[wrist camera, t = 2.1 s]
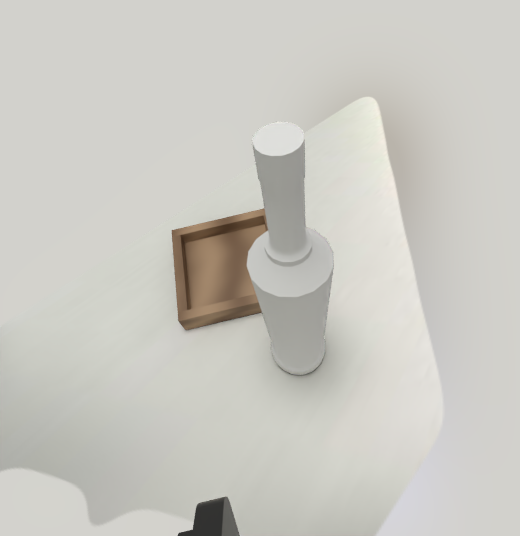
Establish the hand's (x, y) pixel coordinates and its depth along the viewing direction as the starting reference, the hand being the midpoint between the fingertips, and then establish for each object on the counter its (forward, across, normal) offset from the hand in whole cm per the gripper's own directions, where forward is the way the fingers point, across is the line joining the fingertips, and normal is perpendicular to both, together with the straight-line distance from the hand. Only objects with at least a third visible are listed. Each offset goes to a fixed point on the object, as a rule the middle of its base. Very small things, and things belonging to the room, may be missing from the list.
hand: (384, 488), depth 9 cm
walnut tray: (+32, +5, 0) cm, 33 cm away
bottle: (+25, 0, +8) cm, 26 cm away
